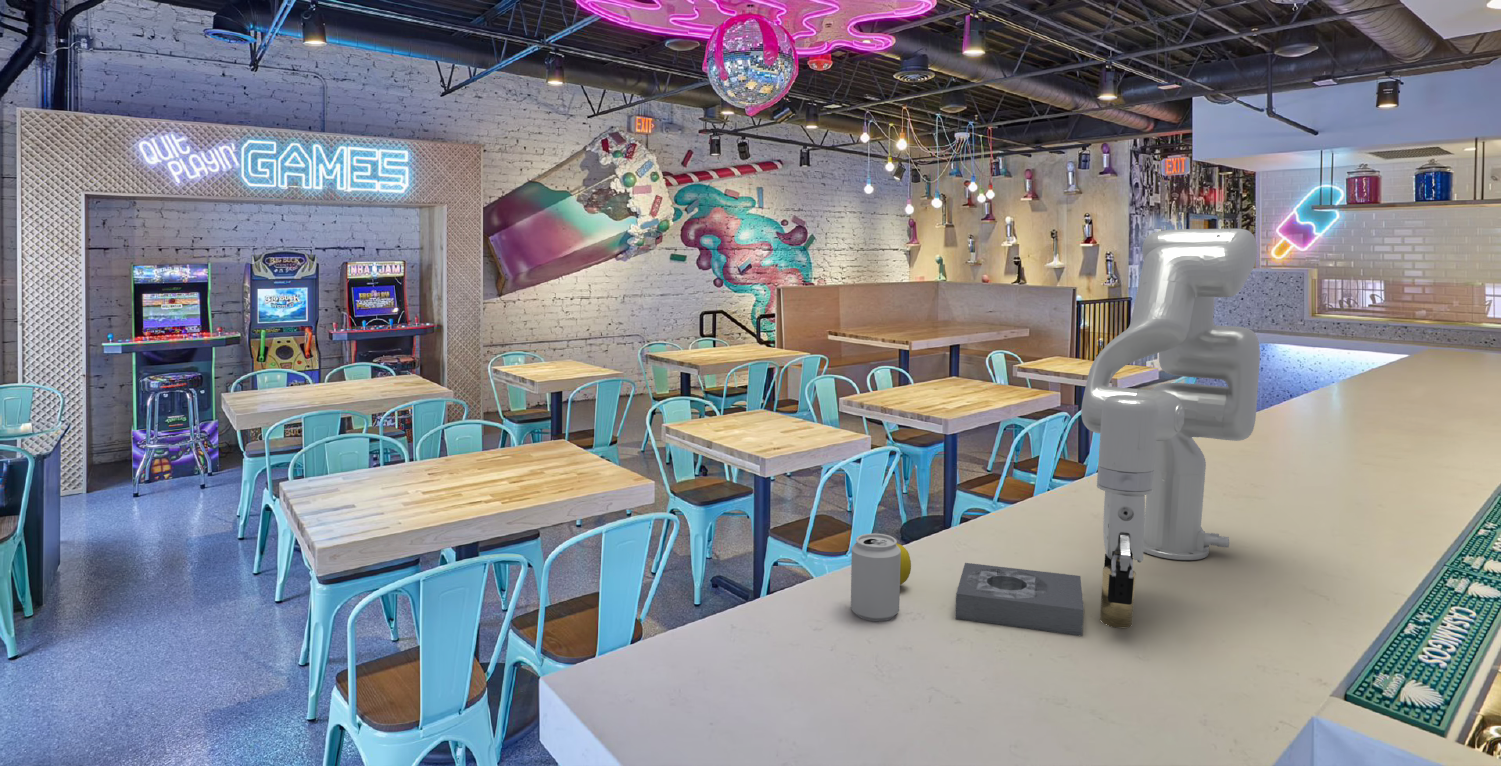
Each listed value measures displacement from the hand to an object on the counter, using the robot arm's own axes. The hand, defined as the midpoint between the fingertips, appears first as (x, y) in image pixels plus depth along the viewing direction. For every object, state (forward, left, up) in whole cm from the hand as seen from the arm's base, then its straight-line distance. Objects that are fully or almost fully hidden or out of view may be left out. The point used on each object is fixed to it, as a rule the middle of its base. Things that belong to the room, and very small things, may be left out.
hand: (1117, 591), depth 126 cm
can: (+35, +8, -5) cm, 36 cm away
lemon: (+34, -3, -5) cm, 34 cm away
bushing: (0, -1, -5) cm, 5 cm away
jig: (+14, -1, -5) cm, 15 cm away
